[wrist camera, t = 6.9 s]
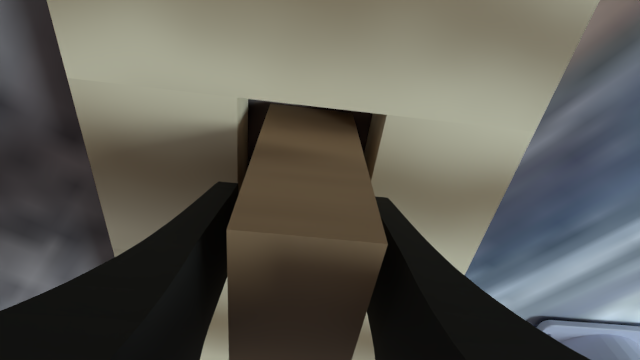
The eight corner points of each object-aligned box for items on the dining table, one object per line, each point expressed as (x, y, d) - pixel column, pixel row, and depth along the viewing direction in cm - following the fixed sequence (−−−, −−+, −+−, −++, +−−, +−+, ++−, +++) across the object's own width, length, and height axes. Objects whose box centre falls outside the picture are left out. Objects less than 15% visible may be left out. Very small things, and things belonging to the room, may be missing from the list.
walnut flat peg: (332, 220, 15) (343, 384, 9) (264, 213, 15) (229, 378, 9) (352, 113, 12) (388, 244, 6) (270, 103, 12) (226, 229, 6)
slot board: (396, 362, 21) (404, 397, 19) (162, 348, 20) (148, 384, 18) (588, -90, 9) (650, -104, 8) (56, -179, 8) (-12, -220, 7)
